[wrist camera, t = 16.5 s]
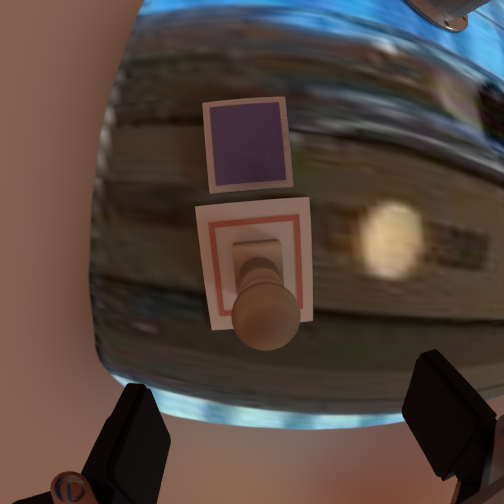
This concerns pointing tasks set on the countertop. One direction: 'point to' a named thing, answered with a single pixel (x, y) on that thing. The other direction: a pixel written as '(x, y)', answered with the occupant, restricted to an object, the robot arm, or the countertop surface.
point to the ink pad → (247, 144)
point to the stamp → (262, 296)
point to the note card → (254, 229)
